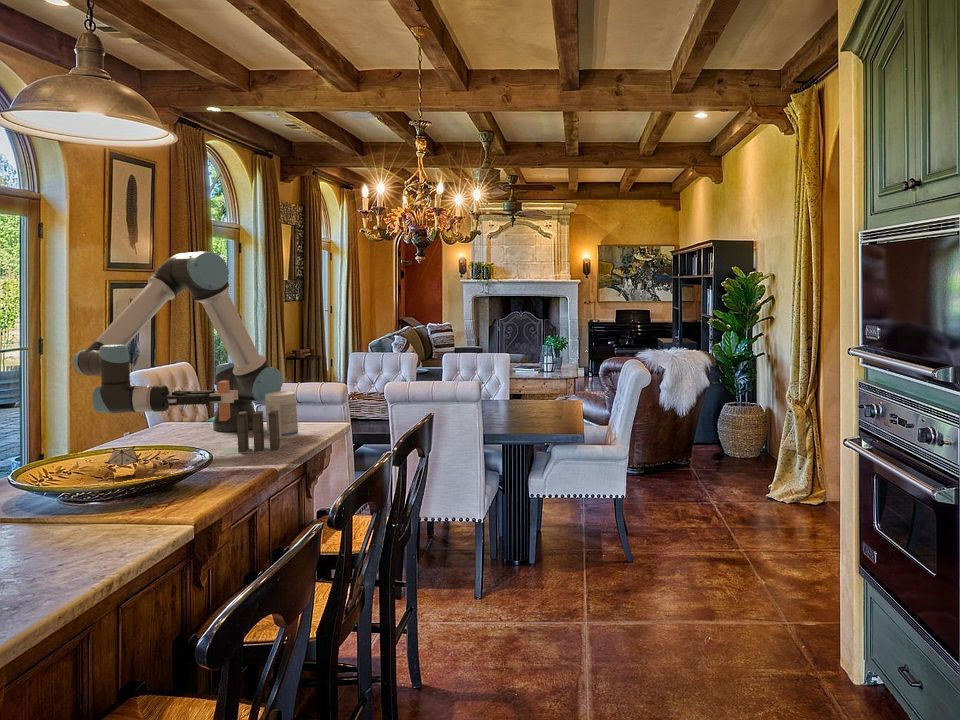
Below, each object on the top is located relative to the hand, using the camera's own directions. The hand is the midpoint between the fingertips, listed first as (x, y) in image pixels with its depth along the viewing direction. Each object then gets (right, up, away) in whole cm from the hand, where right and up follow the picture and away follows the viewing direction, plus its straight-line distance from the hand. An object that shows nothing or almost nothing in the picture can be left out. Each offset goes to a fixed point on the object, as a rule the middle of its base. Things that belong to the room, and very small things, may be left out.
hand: (235, 396), depth 221 cm
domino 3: (+6, -16, +2) cm, 17 cm away
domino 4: (+11, -16, +3) cm, 19 cm away
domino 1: (-3, -7, 0) cm, 7 cm away
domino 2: (+2, -16, +2) cm, 16 cm away
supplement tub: (+8, -15, +24) cm, 29 cm away
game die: (-21, -20, -25) cm, 38 cm away
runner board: (+4, -17, +2) cm, 17 cm away
